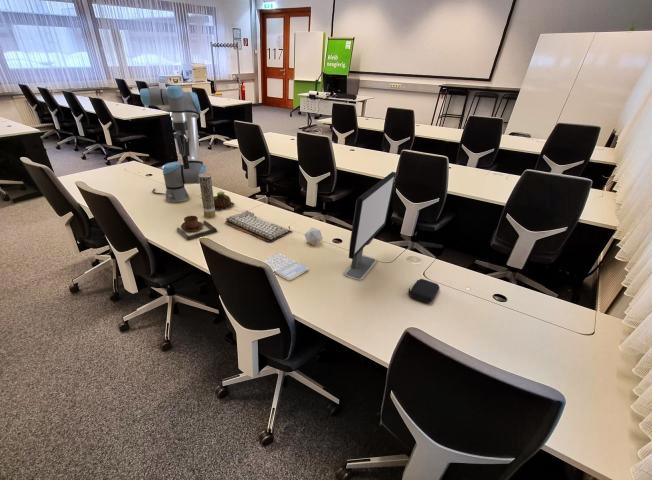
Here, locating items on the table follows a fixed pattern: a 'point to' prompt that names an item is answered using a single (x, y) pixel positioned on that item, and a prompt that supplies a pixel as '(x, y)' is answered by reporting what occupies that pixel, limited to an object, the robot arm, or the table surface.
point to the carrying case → (424, 290)
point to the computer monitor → (368, 224)
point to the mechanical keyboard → (256, 226)
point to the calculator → (285, 266)
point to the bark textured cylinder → (207, 195)
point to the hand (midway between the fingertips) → (186, 168)
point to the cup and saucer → (191, 224)
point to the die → (313, 236)
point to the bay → (212, 230)
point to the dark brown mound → (222, 201)
